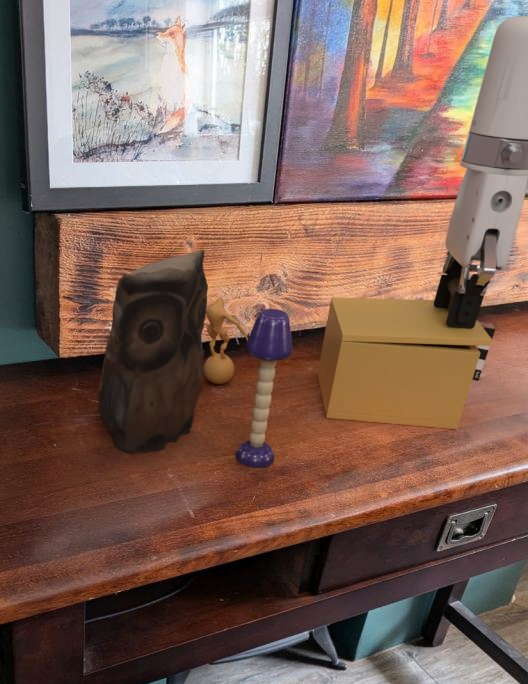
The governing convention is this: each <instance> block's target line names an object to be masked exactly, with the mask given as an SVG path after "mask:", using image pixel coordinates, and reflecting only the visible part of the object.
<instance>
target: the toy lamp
mask: <svg viewBox="0 0 528 684" xmlns="http://www.w3.org/2000/svg"><path fill="white" fill-rule="evenodd" d="M245 349H246V352H247V353H248V354H249V355H250V356H252V357H253V358H256V359H259V365H260V366H259V367H258V370H257V378H258V379H257V381H256V386H255V390H256V394H255V395H254V399H253V400H254V402H253V403H254V406H253V408H252V412H251V414H252V415H251V416H252V420H251V422H250V433H249V434H248V440H245V441H244V442H243V443H241V444H240V445H239V446H238V448H237V450H236V453H235V459H236V461H238V462H239V463H240V464H242V465H244V466H246V467H250V468H258V469H259V468H260V469H261V468H266V467H269V466H271V465H272V464H273V463H274V461H275V454H274V450H273V449H272V447H271V445H270V444H269V443H267V442H265V441H266V432H267V429H268V418H269V417H270V406H271V403H272V392H273V389H274V381H273V380H274V378H275V376H276V365H277V363H278V361H283V360H286V359H289V357H291V355H292V353H293V339H292V330H291V322H290V317H289V315H288V313H287V312H286V311H284V310H282V309H278V308H266V309H263V310H262V309H261V310H260V311H259V313H258V314H257V316H256V318H255V321H254V323H253V326H252V328H251V331H250V333H249V336H248V341H247V340H246V345H245Z"/></svg>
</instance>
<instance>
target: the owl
mask: <svg viewBox="0 0 528 684" xmlns="http://www.w3.org/2000/svg"><path fill="white" fill-rule="evenodd" d="M204 258H205V250H204V249H200V250H197V251H193V252H189V253H186V254H183V255H179V256H173V257H168V258H164V259H160V260H158V261H155V262H150V263H147V264H144V265H143V266H141V267H139V268H137V269H135V270H133V271H132V272H130V273H127V272H125V273H122V276H121V277H120V278H119V279H118V281H117V284H116V290H115V297H114V301H113V305H112V322H111V328H110V332H109V336H108V339H107V342H106V345H105V351H104V358H103V364H102V370H101V376H100V381H99V387H98V391H97V397H96V399H97V401H98V404H99V405H98V408H97V411H98V412H99V414H100V416H101V417H102V419H103V424H104V425H105V426H106V427H107V433H108V434H109V435H110V436H111V437H112V438H113V445H114V447H115V448H117V449H119V450H120V451H122V452H123V453H127V454H131V455H132V454H134V455H135V454H139V453H141V454H146V453H151V452H152V453H153V452H159V451H163V450H164V449H165V448H166V447H167V445H168V444H169V443H176V442H178V440H179V438H180V437H182V436H183V435H189V434H190V433H191V430H192V427H193V426H192V425H193V419H194V413H195V409H196V405H197V402H198V399H199V397H200V394H201V392H202V390H203V381H204V376H205V374H204V371H205V369H204V365H205V364H204V362H203V357H204V355H205V349H203V347H202V334H203V330H204V327H205V321H206V317H207V315H206V307H208V306H207V305H208V296H207V295H208V289H209V284H208V281H207V278H206V274H205V271H204V260H205V259H204Z"/></svg>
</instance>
